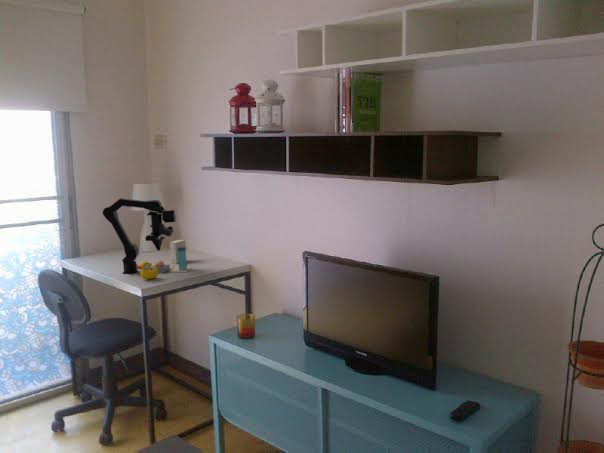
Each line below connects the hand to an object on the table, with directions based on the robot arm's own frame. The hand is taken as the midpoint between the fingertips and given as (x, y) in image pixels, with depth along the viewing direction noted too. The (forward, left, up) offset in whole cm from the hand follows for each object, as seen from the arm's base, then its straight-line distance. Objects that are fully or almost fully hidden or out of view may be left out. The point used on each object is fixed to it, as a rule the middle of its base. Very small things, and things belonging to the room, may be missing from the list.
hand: (158, 250), depth 309 cm
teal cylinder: (+12, +4, -12) cm, 17 cm away
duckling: (+1, -17, -12) cm, 21 cm away
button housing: (0, 0, -12) cm, 12 cm away
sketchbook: (+10, +4, -12) cm, 16 cm away
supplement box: (+2, +22, -12) cm, 25 cm away
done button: (0, 0, -10) cm, 10 cm away
